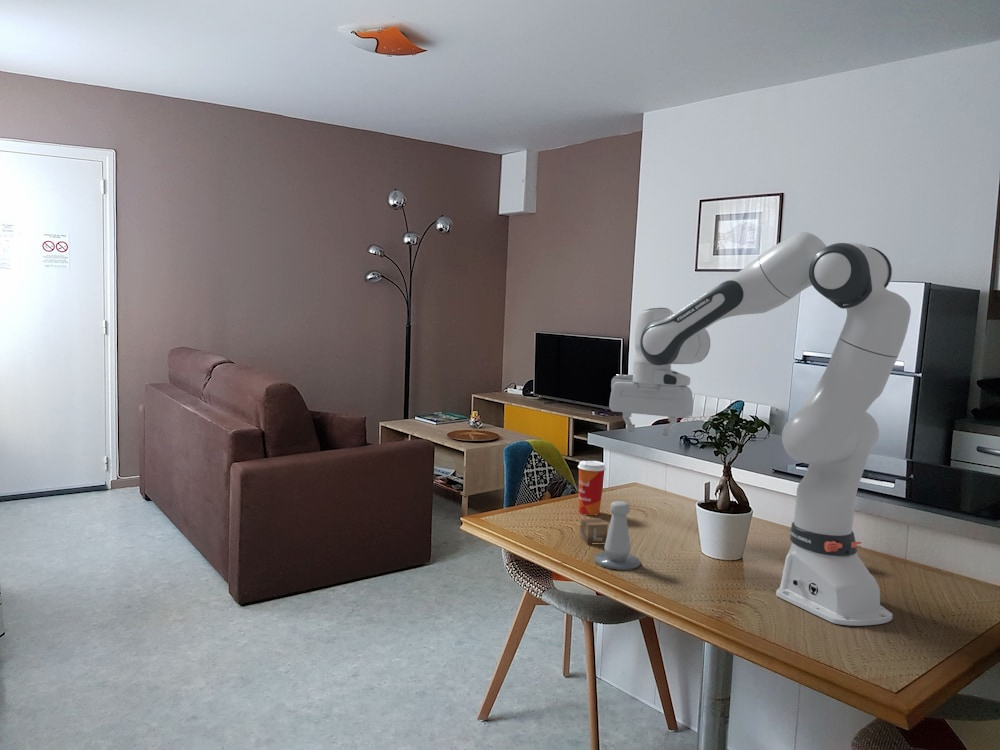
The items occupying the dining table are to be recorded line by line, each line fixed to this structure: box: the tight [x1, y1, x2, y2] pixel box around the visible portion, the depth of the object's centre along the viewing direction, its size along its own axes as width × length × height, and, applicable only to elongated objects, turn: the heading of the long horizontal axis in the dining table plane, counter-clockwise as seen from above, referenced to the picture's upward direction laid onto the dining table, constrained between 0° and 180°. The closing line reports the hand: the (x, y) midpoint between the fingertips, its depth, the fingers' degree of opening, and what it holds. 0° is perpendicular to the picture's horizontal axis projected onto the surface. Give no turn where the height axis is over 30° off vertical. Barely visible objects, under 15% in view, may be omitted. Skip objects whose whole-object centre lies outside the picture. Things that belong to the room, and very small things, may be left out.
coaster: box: [594, 551, 641, 571], centre depth 172 cm, size 10×10×1 cm
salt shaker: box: [603, 500, 631, 562], centre depth 171 cm, size 6×6×13 cm
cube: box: [579, 517, 609, 545], centre depth 186 cm, size 5×5×5 cm
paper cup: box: [577, 460, 607, 516], centre depth 210 cm, size 8×8×14 cm
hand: (648, 433), depth 183 cm, fingers open, 8 cm apart
